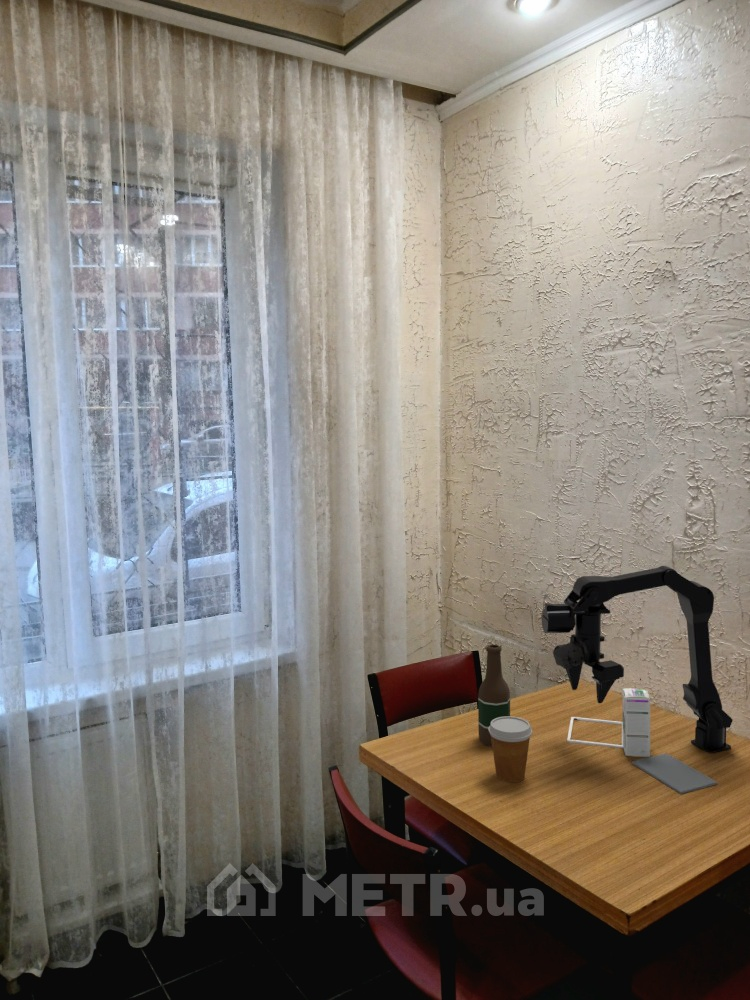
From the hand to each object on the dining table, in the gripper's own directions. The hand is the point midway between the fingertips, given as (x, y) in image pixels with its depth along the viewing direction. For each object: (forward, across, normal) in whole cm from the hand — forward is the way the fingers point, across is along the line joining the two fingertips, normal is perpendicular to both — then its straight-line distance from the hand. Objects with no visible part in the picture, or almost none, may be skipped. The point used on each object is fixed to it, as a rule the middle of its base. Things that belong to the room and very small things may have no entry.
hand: (586, 696), depth 177 cm
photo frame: (+14, -6, +11) cm, 18 cm away
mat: (+13, +17, +10) cm, 24 cm away
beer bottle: (+14, -14, -16) cm, 26 cm away
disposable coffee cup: (+14, +2, -23) cm, 27 cm away
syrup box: (+14, +5, +10) cm, 18 cm away
